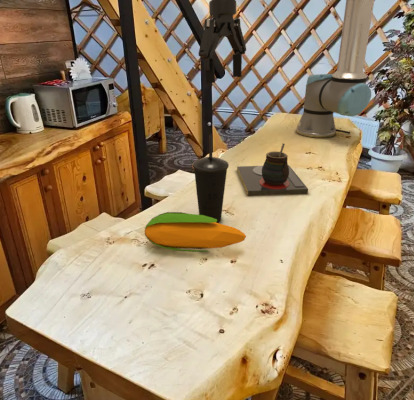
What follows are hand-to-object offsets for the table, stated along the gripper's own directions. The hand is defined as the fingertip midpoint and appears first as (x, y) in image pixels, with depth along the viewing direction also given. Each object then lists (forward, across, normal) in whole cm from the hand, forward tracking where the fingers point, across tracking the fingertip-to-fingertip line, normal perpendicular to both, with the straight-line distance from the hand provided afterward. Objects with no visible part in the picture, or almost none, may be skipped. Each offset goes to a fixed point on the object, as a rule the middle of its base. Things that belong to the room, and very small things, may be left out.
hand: (224, 79), depth 111 cm
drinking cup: (+26, +36, +21) cm, 49 cm away
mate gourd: (+25, +10, +24) cm, 36 cm away
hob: (+26, +7, +21) cm, 34 cm away
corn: (+26, +46, +26) cm, 59 cm away
